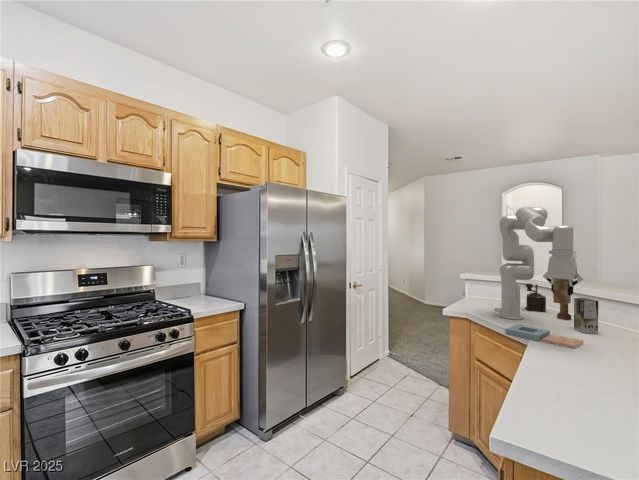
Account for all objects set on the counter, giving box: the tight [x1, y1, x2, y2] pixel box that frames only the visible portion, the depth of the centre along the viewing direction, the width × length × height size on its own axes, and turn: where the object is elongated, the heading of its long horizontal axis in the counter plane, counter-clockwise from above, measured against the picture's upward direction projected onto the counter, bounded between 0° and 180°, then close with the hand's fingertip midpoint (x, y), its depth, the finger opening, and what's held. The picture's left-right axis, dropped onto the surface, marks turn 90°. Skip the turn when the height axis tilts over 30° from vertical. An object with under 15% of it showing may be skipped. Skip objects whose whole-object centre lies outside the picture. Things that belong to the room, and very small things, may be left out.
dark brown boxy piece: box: [524, 283, 547, 313], centre depth 208 cm, size 16×11×18 cm
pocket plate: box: [505, 323, 551, 342], centre depth 155 cm, size 14×14×2 cm
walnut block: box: [552, 278, 572, 305], centre depth 144 cm, size 5×5×11 cm
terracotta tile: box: [541, 333, 584, 349], centre depth 144 cm, size 12×12×1 cm
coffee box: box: [573, 297, 600, 335], centre depth 162 cm, size 9×6×16 cm
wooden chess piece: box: [556, 303, 572, 321], centre depth 188 cm, size 7×6×18 cm
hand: (562, 293), depth 144 cm, fingers closed on walnut block, 5 cm apart
